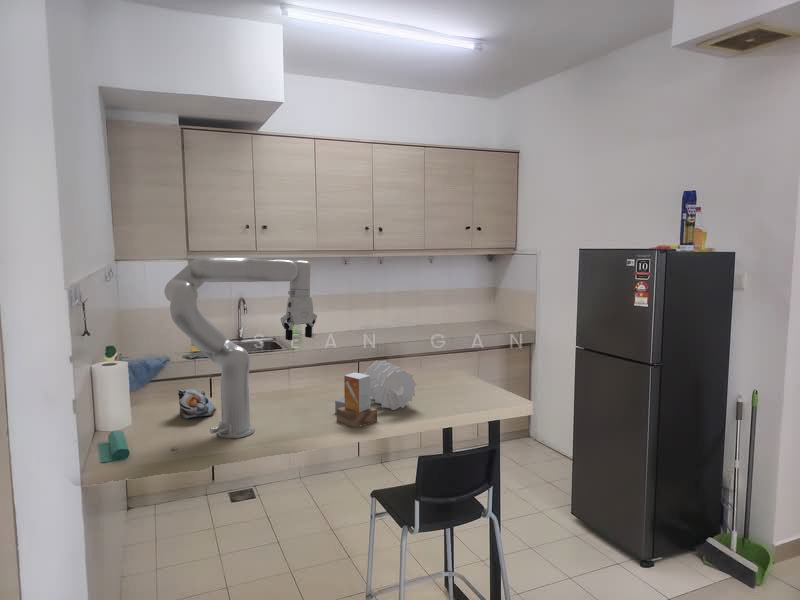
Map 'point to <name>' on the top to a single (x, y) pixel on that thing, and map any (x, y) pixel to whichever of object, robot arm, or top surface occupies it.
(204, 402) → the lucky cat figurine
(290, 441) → the top surface
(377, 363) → the spiral staircase
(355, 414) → the walnut block
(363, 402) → the small box
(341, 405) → the slate-grey cube
